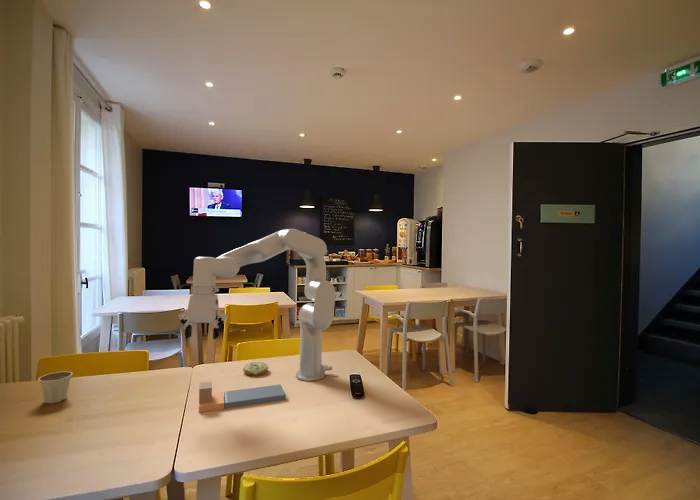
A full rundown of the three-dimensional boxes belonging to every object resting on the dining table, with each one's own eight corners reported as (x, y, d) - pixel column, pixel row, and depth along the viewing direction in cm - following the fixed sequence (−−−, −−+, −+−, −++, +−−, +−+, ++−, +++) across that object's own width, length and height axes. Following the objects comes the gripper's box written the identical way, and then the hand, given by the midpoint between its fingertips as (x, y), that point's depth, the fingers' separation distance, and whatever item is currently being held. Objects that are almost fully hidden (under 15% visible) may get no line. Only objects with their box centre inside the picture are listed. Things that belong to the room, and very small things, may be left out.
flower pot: (32, 402, 122) (32, 377, 122) (64, 392, 131) (64, 369, 131) (45, 408, 118) (45, 383, 118) (77, 398, 126) (77, 374, 126)
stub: (223, 396, 129) (223, 378, 129) (224, 408, 120) (224, 388, 120) (199, 400, 126) (199, 380, 126) (198, 412, 117) (199, 391, 117)
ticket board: (280, 389, 137) (280, 384, 137) (285, 399, 128) (285, 394, 128) (223, 397, 129) (223, 391, 129) (224, 408, 120) (225, 402, 120)
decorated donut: (257, 379, 148) (257, 370, 148) (237, 374, 153) (237, 366, 153) (272, 371, 158) (272, 362, 158) (253, 367, 162) (253, 359, 162)
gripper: (231, 290, 130) (229, 336, 130) (184, 288, 130) (182, 334, 130) (224, 292, 123) (222, 341, 123) (174, 291, 122) (172, 339, 122)
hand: (202, 337), depth 126 cm, fingers open, 9 cm apart
